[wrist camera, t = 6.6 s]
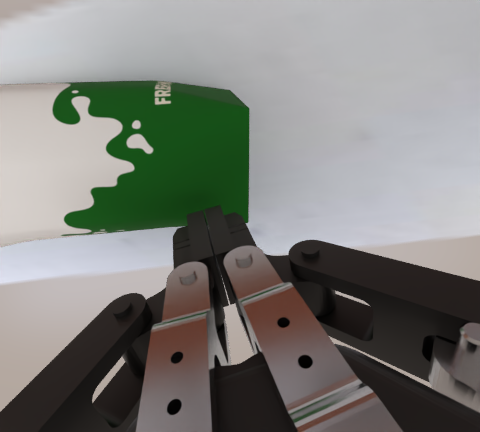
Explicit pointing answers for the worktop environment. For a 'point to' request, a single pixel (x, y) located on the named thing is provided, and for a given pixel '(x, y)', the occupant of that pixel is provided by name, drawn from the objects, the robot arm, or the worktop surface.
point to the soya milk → (117, 157)
